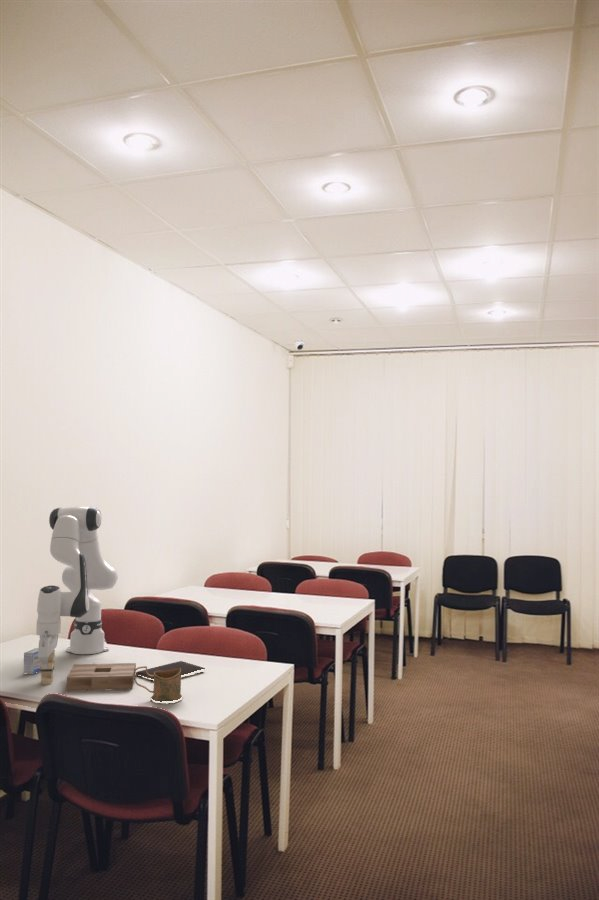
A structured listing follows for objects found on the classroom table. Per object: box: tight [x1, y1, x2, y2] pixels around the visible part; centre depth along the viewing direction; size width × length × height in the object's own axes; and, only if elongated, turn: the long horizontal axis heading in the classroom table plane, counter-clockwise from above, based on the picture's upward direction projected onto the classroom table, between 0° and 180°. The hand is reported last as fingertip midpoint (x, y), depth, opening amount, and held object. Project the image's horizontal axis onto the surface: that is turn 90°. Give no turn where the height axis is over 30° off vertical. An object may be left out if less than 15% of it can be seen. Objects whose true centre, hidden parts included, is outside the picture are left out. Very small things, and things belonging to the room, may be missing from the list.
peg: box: [39, 649, 56, 685], centre depth 267 cm, size 4×4×12 cm
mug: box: [134, 665, 183, 702], centre depth 251 cm, size 12×18×12 cm, turn 103°
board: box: [65, 662, 137, 692], centre depth 269 cm, size 18×24×5 cm
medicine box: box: [22, 647, 41, 675], centre depth 281 cm, size 8×4×9 cm, turn 168°
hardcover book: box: [135, 660, 206, 679], centre depth 283 cm, size 16×23×2 cm
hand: (47, 665), depth 267 cm, fingers open, 8 cm apart
